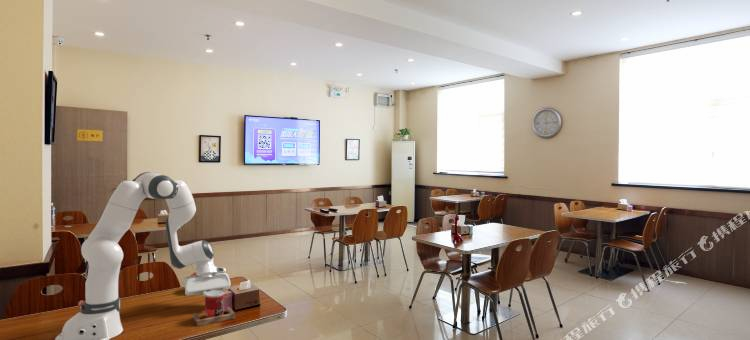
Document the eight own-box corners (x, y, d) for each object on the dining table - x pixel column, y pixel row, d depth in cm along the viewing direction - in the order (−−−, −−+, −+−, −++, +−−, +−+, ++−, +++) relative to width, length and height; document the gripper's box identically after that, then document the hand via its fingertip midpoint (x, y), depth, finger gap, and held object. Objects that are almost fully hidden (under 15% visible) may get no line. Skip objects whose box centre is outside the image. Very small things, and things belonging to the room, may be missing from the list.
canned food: (217, 321, 181) (217, 296, 181) (201, 319, 183) (201, 295, 182) (226, 314, 189) (227, 290, 188) (211, 312, 190) (211, 289, 190)
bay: (197, 325, 176) (197, 321, 176) (193, 317, 184) (193, 313, 184) (235, 318, 185) (235, 314, 185) (230, 310, 193) (230, 306, 193)
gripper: (183, 273, 193) (186, 300, 185) (228, 267, 204) (233, 293, 196) (182, 280, 197) (185, 307, 189) (226, 274, 208) (231, 299, 200)
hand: (210, 300), depth 193 cm, fingers closed
